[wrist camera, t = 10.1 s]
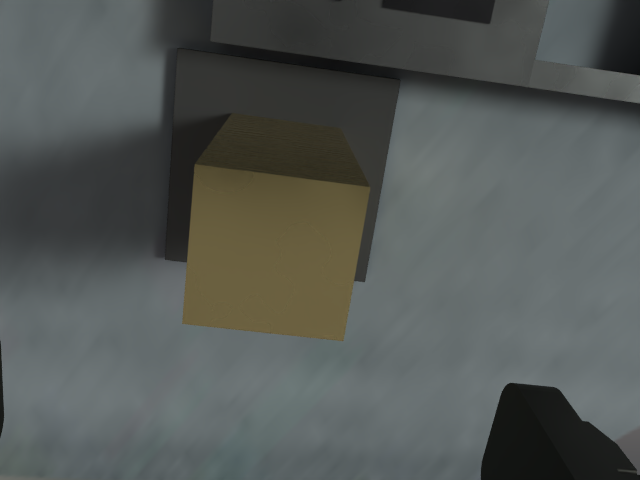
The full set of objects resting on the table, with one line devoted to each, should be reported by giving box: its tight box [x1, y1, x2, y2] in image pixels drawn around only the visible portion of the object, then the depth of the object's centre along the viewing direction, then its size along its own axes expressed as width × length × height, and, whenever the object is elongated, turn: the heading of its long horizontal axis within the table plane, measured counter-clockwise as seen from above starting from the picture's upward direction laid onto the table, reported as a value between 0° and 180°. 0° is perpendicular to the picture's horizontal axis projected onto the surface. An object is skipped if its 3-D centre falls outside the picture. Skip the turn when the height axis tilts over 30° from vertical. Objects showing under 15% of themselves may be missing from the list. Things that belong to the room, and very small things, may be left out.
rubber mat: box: [165, 48, 401, 282], centre depth 26 cm, size 9×9×1 cm
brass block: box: [182, 113, 370, 341], centre depth 21 cm, size 4×4×10 cm
